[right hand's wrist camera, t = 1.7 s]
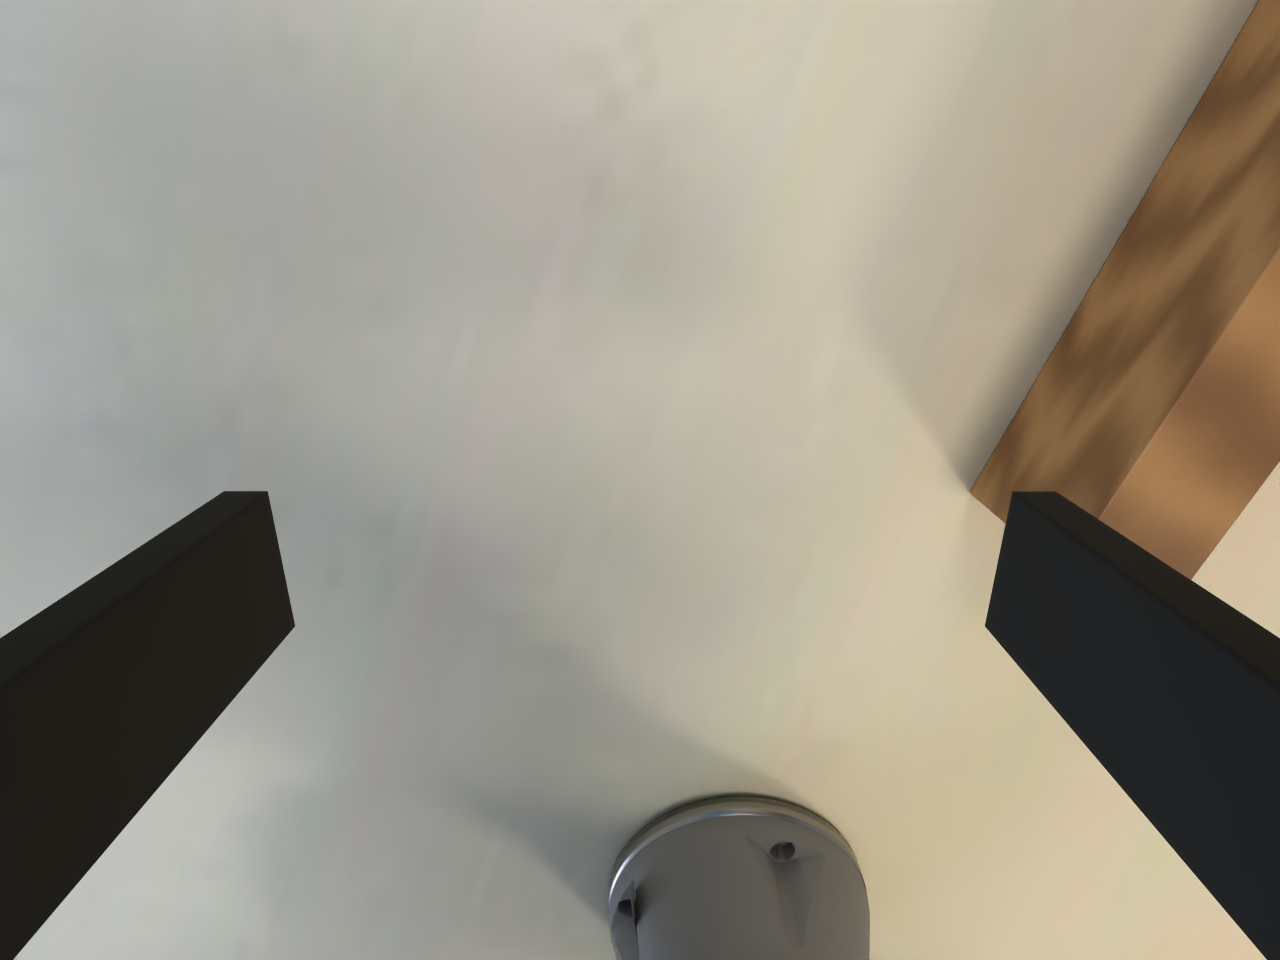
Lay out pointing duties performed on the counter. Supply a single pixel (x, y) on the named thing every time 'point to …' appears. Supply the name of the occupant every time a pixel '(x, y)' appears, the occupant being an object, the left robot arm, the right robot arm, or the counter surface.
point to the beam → (1173, 338)
